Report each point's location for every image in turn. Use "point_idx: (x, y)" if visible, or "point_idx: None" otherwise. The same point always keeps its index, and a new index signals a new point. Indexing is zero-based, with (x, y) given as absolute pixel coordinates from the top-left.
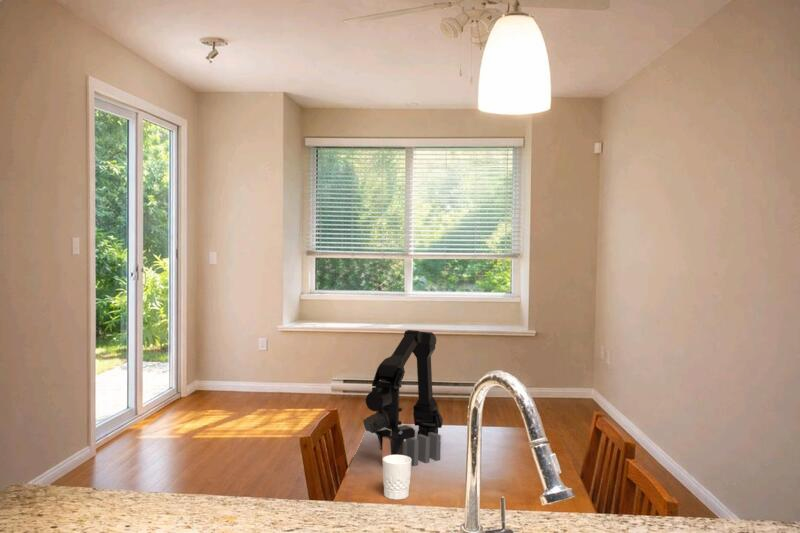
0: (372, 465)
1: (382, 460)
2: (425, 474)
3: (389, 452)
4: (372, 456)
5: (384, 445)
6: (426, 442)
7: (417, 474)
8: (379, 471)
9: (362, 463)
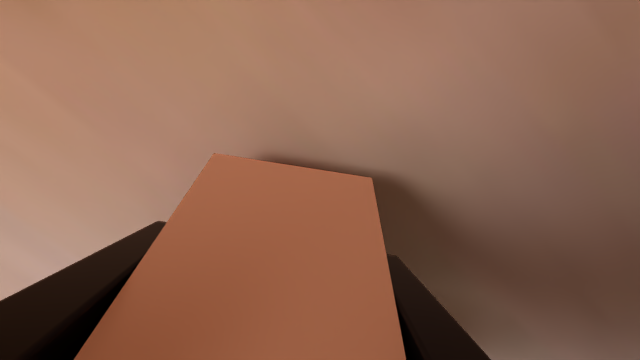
0: (480, 129)
1: (366, 189)
2: (5, 275)
3: (189, 251)
4: (628, 290)
5: (335, 338)
6: None
7: (31, 238)
8: (294, 49)
9: (611, 98)
